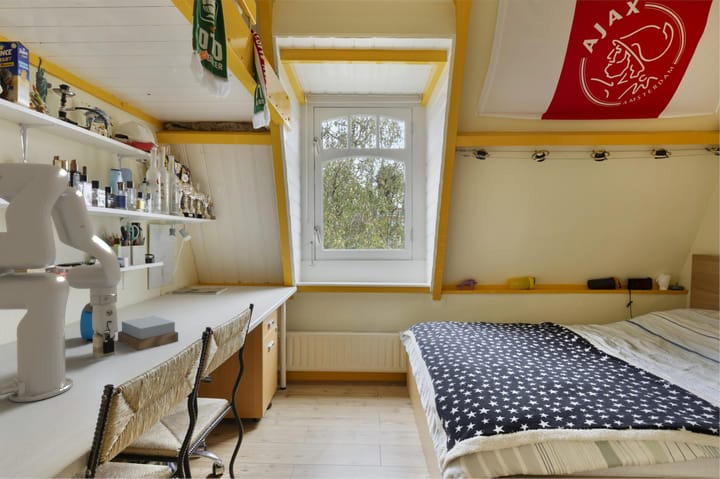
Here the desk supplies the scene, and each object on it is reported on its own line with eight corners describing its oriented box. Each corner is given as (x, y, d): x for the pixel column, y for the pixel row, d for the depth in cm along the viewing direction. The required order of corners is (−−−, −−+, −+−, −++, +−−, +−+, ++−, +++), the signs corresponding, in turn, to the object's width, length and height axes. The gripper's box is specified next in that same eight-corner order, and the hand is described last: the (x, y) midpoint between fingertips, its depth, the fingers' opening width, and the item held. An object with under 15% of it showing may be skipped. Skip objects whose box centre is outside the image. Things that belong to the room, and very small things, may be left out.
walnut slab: (138, 352, 127) (138, 341, 127) (117, 341, 138) (117, 331, 138) (178, 342, 138) (178, 332, 138) (156, 333, 150) (155, 324, 150)
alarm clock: (88, 335, 145) (88, 298, 144) (107, 333, 148) (106, 297, 147) (79, 344, 133) (79, 304, 133) (99, 342, 136) (99, 303, 135)
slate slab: (141, 339, 128) (141, 328, 128) (121, 331, 138) (121, 321, 138) (174, 332, 138) (174, 322, 138) (154, 325, 148) (154, 315, 148)
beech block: (98, 358, 119) (97, 337, 119) (92, 355, 122) (92, 335, 122) (115, 354, 123) (115, 334, 123) (109, 351, 126) (109, 331, 126)
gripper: (126, 301, 120) (126, 352, 120) (107, 295, 130) (107, 342, 131) (99, 304, 114) (100, 358, 114) (82, 298, 124) (82, 347, 125)
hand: (104, 349), depth 123 cm, fingers open, 8 cm apart
